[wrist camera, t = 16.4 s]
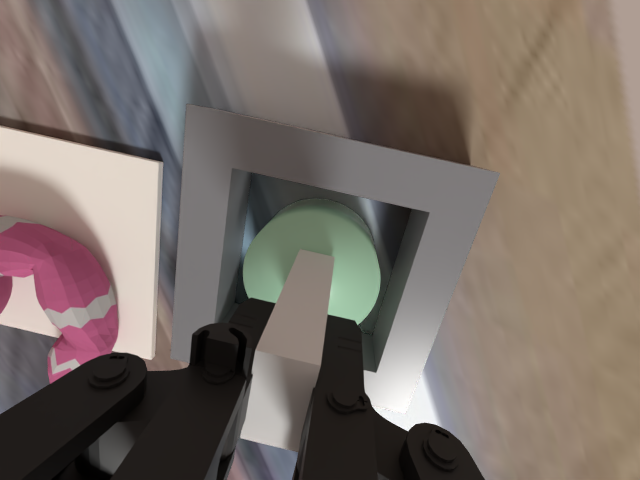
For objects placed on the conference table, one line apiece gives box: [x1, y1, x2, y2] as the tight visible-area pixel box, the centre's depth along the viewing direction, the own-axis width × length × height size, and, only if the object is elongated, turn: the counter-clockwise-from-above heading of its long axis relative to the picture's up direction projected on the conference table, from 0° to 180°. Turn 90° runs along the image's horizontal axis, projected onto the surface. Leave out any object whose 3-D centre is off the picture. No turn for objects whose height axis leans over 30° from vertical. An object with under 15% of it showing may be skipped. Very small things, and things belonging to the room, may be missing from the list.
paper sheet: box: [0, 125, 163, 360], centre depth 18 cm, size 15×12×1 cm
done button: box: [243, 198, 381, 325], centre depth 15 cm, size 6×6×3 cm
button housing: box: [171, 104, 500, 414], centre depth 15 cm, size 12×12×3 cm
